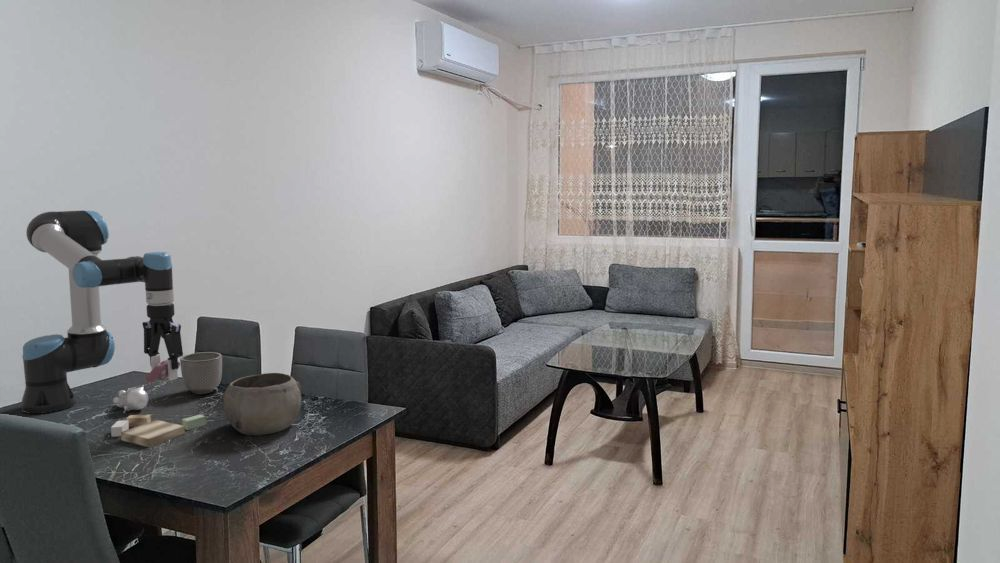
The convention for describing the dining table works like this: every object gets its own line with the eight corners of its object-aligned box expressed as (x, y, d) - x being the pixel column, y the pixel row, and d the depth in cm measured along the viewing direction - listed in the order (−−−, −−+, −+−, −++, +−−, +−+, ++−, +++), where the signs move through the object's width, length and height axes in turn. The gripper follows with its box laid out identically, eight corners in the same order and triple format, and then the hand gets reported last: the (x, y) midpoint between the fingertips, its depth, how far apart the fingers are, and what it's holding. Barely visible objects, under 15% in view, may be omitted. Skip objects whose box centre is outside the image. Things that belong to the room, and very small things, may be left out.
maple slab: (121, 440, 206) (120, 432, 206) (157, 427, 217) (156, 419, 217) (149, 447, 201) (148, 438, 201) (184, 434, 212) (184, 426, 211)
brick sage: (187, 430, 215) (187, 421, 215) (182, 428, 217) (181, 419, 217) (205, 425, 220) (205, 416, 220) (200, 423, 222) (200, 414, 221)
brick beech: (126, 427, 217) (126, 418, 217) (130, 424, 220) (130, 415, 220) (147, 427, 218) (146, 417, 218) (151, 423, 221) (150, 414, 221)
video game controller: (155, 388, 211) (162, 367, 210) (143, 381, 212) (150, 360, 211) (177, 379, 221) (184, 360, 219) (165, 372, 222) (172, 353, 220)
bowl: (281, 409, 235) (279, 365, 233) (316, 427, 219) (315, 380, 217) (212, 426, 219) (209, 379, 217) (245, 446, 203) (242, 395, 201)
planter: (214, 397, 247) (212, 361, 245) (174, 397, 247) (172, 361, 246) (229, 386, 261) (228, 352, 259) (192, 385, 261) (190, 351, 259)
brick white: (118, 430, 215) (117, 420, 215) (129, 429, 216) (128, 420, 215) (111, 437, 209) (110, 427, 209) (122, 436, 210) (121, 426, 210)
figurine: (122, 379, 240) (141, 379, 231) (140, 391, 244) (160, 391, 235) (102, 406, 235) (121, 407, 225) (120, 418, 239) (140, 419, 229)
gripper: (126, 303, 214) (132, 377, 217) (172, 308, 206) (177, 384, 209) (148, 299, 221) (152, 371, 224) (193, 304, 213) (197, 378, 216)
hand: (164, 377), depth 216 cm, fingers closed on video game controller, 6 cm apart
